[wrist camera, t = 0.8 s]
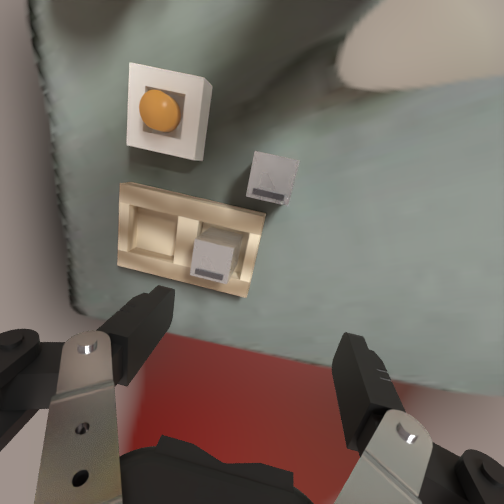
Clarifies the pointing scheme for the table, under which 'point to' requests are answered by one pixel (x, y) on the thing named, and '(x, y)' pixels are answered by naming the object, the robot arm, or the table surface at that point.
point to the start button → (159, 111)
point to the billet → (216, 254)
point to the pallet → (182, 234)
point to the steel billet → (272, 178)
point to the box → (191, 106)
